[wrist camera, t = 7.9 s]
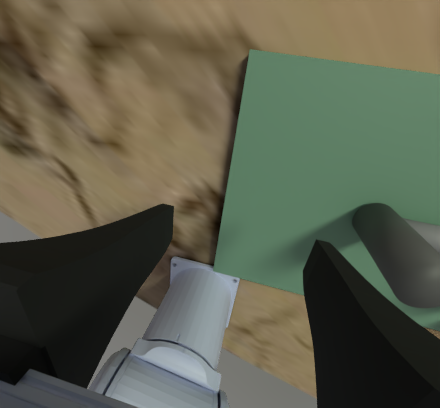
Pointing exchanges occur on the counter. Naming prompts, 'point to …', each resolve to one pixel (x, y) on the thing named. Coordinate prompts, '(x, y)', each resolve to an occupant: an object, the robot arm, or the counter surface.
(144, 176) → the counter surface
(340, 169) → the board
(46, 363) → the robot arm
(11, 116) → the counter surface
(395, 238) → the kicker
